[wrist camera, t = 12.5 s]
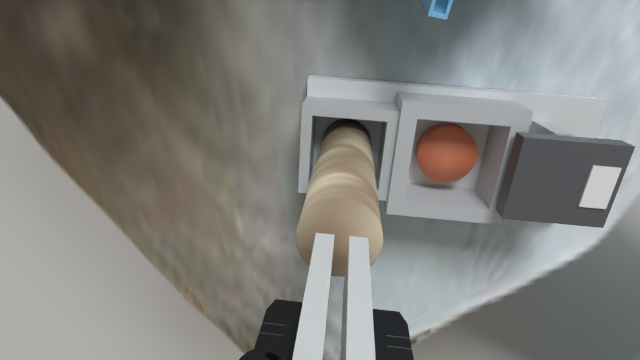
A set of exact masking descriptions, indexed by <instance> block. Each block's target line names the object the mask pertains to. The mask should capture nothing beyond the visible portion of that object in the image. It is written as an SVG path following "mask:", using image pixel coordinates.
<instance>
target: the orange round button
mask: <svg viewBox="0 0 640 360" xmlns="http://www.w3.org/2000/svg"><path fill="white" fill-rule="evenodd" d="M415 153H416V159H417V162H418V164H419V166H420V168H421V170H422V172H423V173H424V174H425V175H426V176H427V177H428V178H430V179H432V180H434V181H437V182H442V183H447V182H454V181H457V180H459V179H461V178H463V177H464V176H466V175H467V174H468V173H469V172H470V171H471V170H472V169H473V167H474V165H475V163H476V160H477V156H478V149H477V145H476V142H475V140H474V139H473V137H472V136H471V135H470V134H469V133H468V132H467V131H466V130H465V129H463V128H462V127H460V126H458V125H456V124H452V123H441V124H437V125H435V126H432V127H431V128H429V129H427V130H426V131H425V132H424V133H423V134H422V135H421V137H420V138H419V140H418V142H417V145H416V151H415Z"/></svg>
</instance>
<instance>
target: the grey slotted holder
mask: <svg viewBox="0 0 640 360" xmlns="http://www.w3.org/2000/svg"><path fill="white" fill-rule="evenodd" d="M608 101H609V100H605V99H602V98H599V97H589V96H576V95H563V94H550V93H537V92H524V91H511V90H498V89H485V88H472V87H459V86H446V85H433V84H421V83H408V82H395V81H382V80H369V79H356V78H343V77H330V76H317V75H309V77H308V85H307V97H306V99H305V100H304V102H303V103H302V116H301V138H300V159H299V181H298V193H307V192H308V189H309V185H310V182H311V178H312V175H313V171H314V168H315V164H316V161H317V158H318V154H319V151H320V147H321V142H322V138H323V135H324V132H325V131H326V129H327V128H328V126H329V125H330V124H332V123H333V122H335V121H337V120H340V119H353V120H356V121H359V122H360V123H362V124H363V125H364V126H365V127H366V128H367V130H368V132H369V134H370V137H371V144H372V156H373V163H374V171H375V178H376V186H377V194H378V200H382V201H384V204H385V210H386V214H391V215H401V216H412V217H422V218H433V219H443V220H454V221H464V222H475V223H485V224H495V225H502V223H503V219H504V218H502V217H501V216H500V215H499V213H498V212H497V211H496V206H497V202H498V198H499V194H500V191H501V187H502V183H503V179H504V176H505V172H506V168H507V164H508V161H509V157H510V153H511V149H512V146H513V142H514V138H515V134H516V132H524V133H536V134H548V135H560V136H572V137H584V138H596V136H597V133H598V130H599V127H600V124H601V121H602V118H603V116H604V113H605V110H606V107H607V104H608ZM441 123H452V124H456V125H458V126H460V127H462V128H463V129H465V130H466V131H467V132H468V133H469V134H470V135H471V136H472V137H473V139H474V140H475V142H476V145H477V149H478V156H477V160H476V163H475V165H474V167H473V169H472V170H471V171H470V172H469V173H468V174H467V175H466V176H464V177H463V178H461V179H459V180H457V181H454V182H447V183H442V182H437V181H434V180H432V179H430V178H428V177H427V176H426V175H425V174H424V173H423V172H422V170H421V168H420V166H419V164H418V162H417V159H416V153H415V151H416V145H417V142H418V140H419V138H420V137H421V135H422V134H423V133H424V132H425V131H426V130H427V129H429V128H431V127H432V126H435V125H437V124H441Z"/></svg>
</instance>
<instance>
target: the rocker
mask: <svg viewBox="0 0 640 360" xmlns="http://www.w3.org/2000/svg"><path fill="white" fill-rule="evenodd" d="M634 148H635V146H633V145H630V144H628V143H626V142H623V141H621V140H609V139H597V138H584V137H572V136H560V135H548V134H536V133H524V132H516V134H515V138H514V142H513V146H512V149H511V153H510V157H509V161H508V164H507V168H506V172H505V176H504V179H503V183H502V187H501V191H500V194H499V198H498V202H497V206H496V211H497V212H498V213H499V215H500V216H501V217H502V218H505V219H516V220H527V221H537V222H548V223H558V224H569V225H579V226H590V227H601V228H603V227H604V224H605V222H606V219H607V217H608V214H609V212H610V209H611V206H612V204H613V201H614V199H615V196H616V194H617V191H618V189H619V186H620V184H621V181H622V179H623V176H624V173H625V171H626V168H627V166H628V163H629V161H630V158H631V156H632V153H633V151H634Z"/></svg>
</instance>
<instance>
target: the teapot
mask: <svg viewBox="0 0 640 360" xmlns="http://www.w3.org/2000/svg"><path fill="white" fill-rule="evenodd" d="M422 3H423V6H424V9H425V11H426V14H427V16H430V17H435V18H439V19H444V20H447V18H448V15H449V12H450V9H451V6H452V3H453V0H422Z"/></svg>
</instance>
